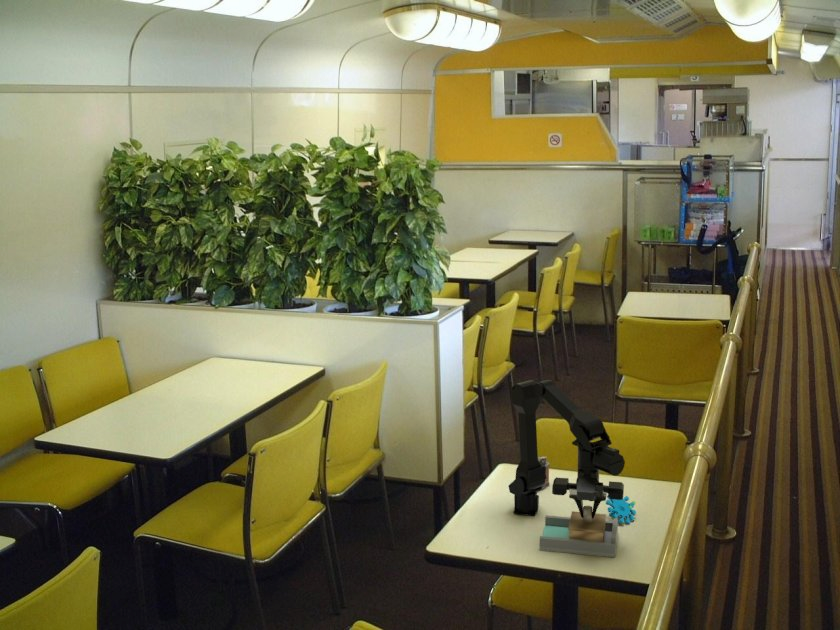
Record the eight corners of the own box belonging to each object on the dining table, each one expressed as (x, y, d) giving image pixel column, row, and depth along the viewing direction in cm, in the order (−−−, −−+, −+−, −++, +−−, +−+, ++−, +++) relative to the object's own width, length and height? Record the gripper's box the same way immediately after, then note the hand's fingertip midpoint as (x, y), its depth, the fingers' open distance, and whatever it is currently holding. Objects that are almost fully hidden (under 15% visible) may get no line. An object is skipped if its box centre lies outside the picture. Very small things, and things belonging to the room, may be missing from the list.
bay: (539, 549, 247) (539, 532, 246) (545, 526, 260) (545, 510, 259) (615, 557, 242) (615, 539, 241) (617, 533, 255) (618, 516, 254)
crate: (568, 545, 246) (568, 514, 244) (571, 527, 256) (572, 497, 254) (603, 548, 244) (604, 517, 242) (605, 530, 254) (606, 500, 252)
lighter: (543, 482, 290) (543, 452, 287) (551, 485, 287) (552, 455, 285) (527, 490, 284) (527, 460, 282) (535, 493, 282) (536, 463, 279)
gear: (618, 524, 257) (603, 492, 261) (605, 533, 261) (590, 501, 265) (645, 519, 263) (629, 487, 267) (632, 527, 267) (617, 496, 271)
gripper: (550, 473, 240) (549, 527, 243) (622, 478, 235) (621, 534, 239) (554, 457, 250) (554, 509, 254) (624, 461, 246) (623, 515, 249)
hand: (587, 517), depth 249 cm, fingers closed on crate, 2 cm apart
